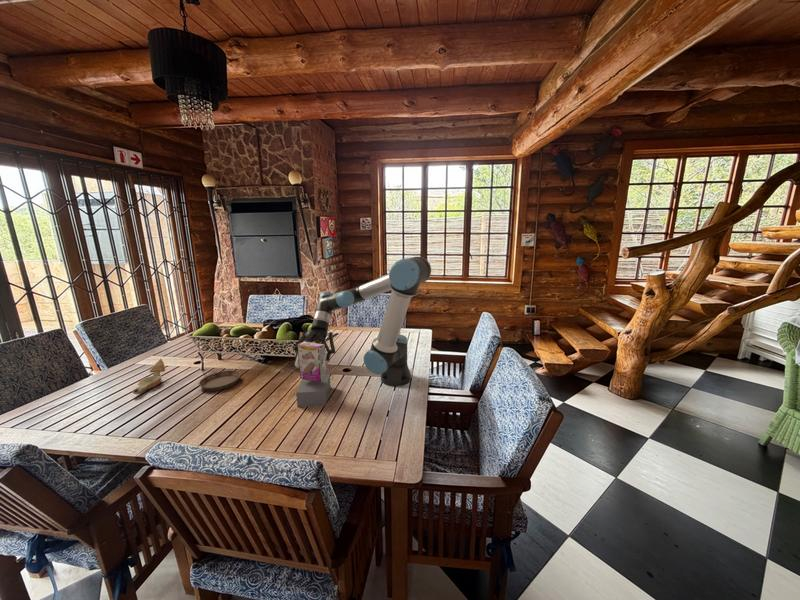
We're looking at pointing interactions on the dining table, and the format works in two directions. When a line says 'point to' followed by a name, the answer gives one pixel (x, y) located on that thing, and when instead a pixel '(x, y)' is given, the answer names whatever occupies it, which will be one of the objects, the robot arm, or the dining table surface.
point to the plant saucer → (219, 380)
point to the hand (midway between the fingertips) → (310, 367)
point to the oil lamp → (151, 378)
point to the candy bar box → (311, 361)
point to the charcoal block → (313, 392)
